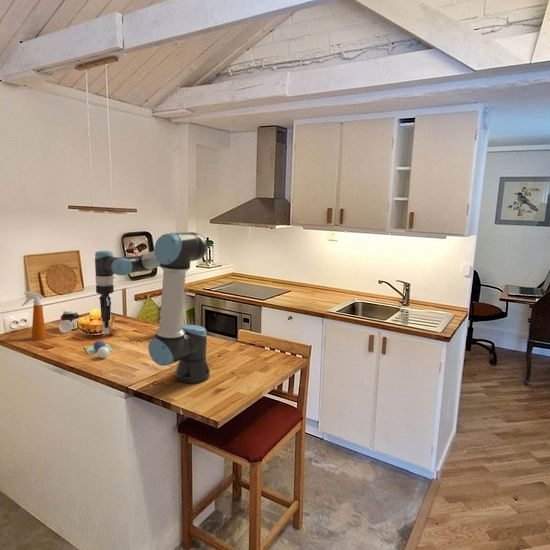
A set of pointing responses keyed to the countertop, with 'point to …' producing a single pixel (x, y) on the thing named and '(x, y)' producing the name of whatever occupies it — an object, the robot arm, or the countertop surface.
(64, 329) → the spread jar
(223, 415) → the countertop surface
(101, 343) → the object ball
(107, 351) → the cue ball
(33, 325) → the spray bottle
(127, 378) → the countertop surface
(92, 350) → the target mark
